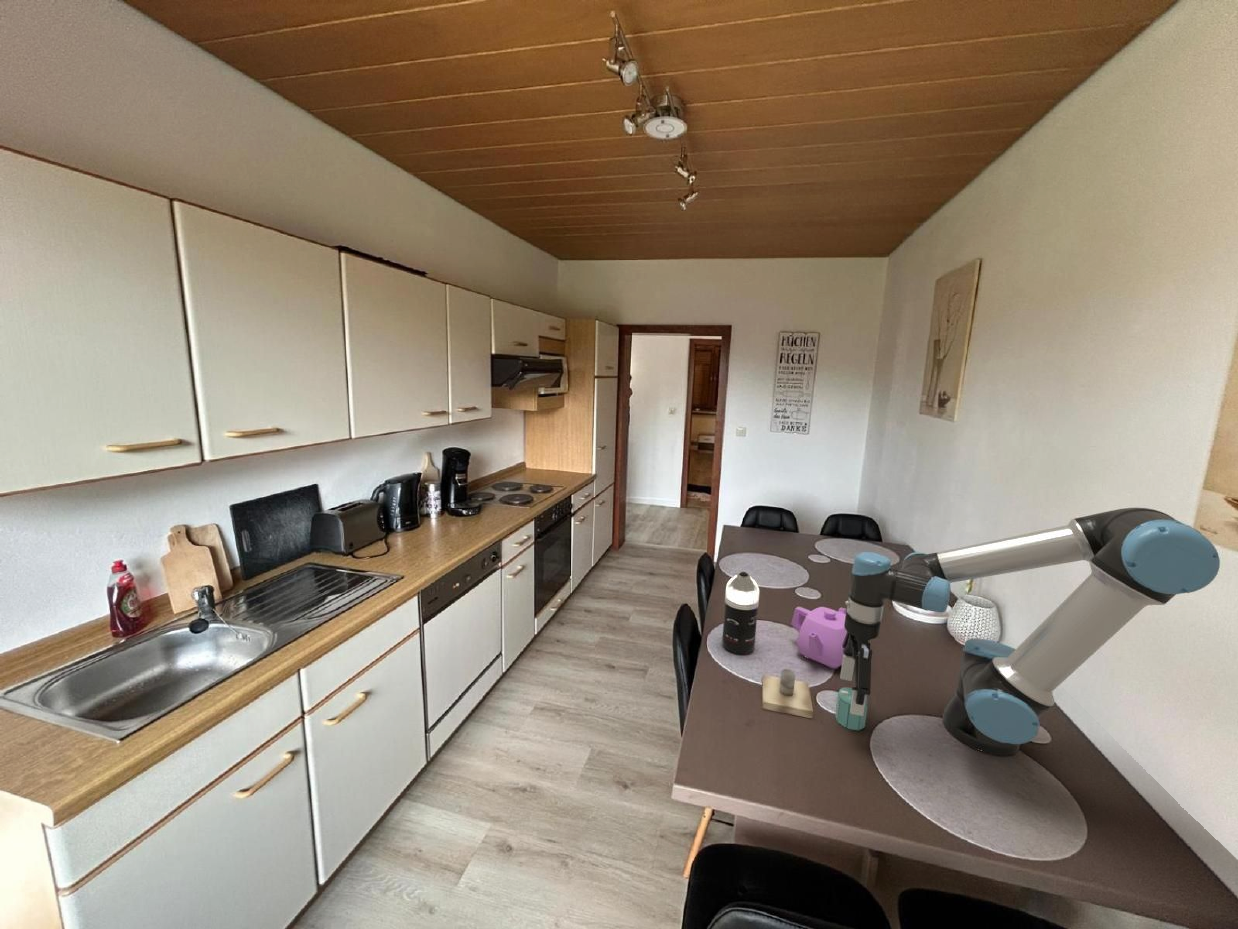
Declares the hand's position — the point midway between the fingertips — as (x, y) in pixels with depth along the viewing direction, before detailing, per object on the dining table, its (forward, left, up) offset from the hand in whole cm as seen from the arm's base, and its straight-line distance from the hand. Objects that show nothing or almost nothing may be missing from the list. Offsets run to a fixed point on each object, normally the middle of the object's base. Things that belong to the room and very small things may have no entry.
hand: (850, 695), depth 120 cm
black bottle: (+28, -26, -7) cm, 38 cm away
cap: (0, 0, -7) cm, 7 cm away
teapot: (+2, -29, -7) cm, 30 cm away
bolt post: (+15, -4, -7) cm, 16 cm away
